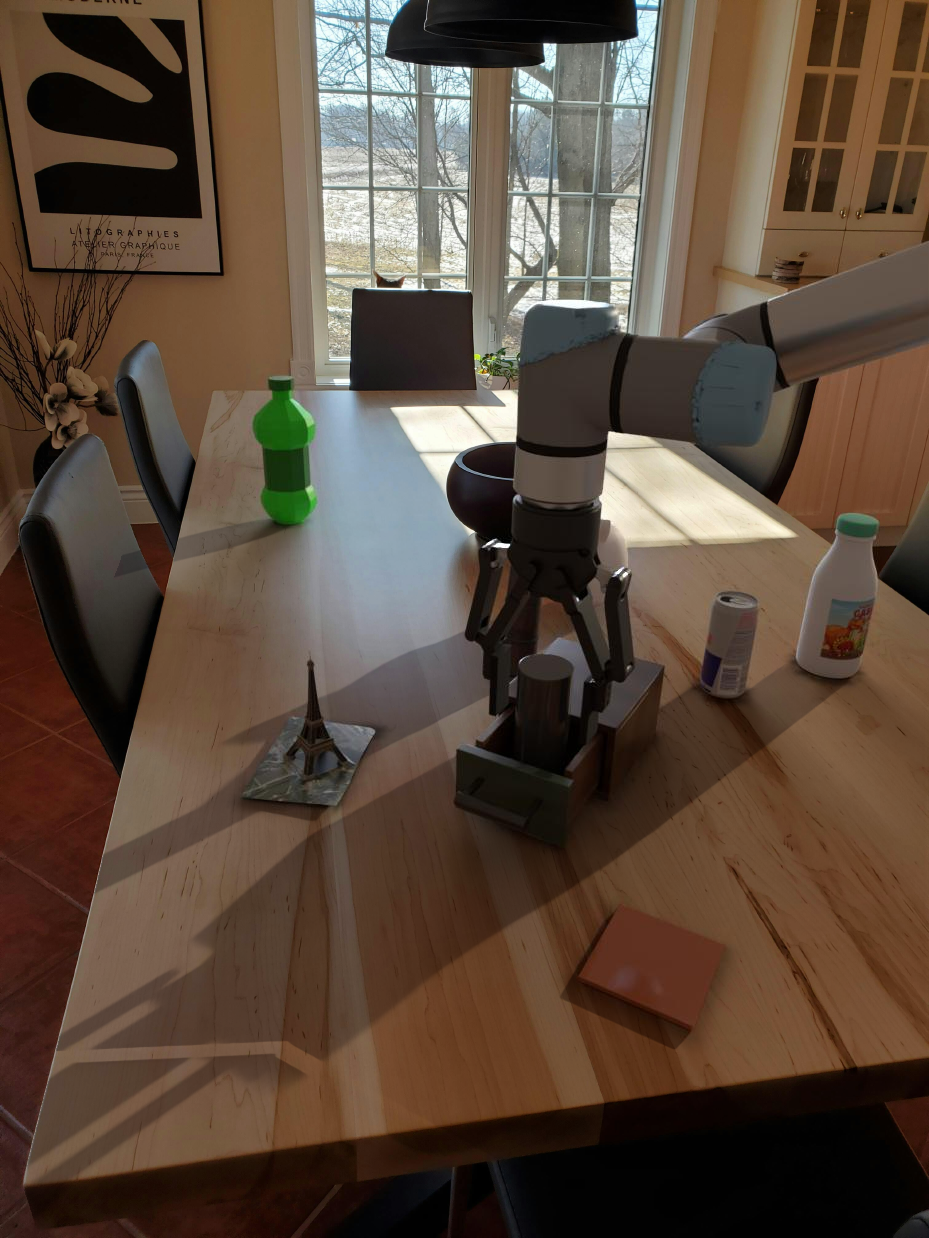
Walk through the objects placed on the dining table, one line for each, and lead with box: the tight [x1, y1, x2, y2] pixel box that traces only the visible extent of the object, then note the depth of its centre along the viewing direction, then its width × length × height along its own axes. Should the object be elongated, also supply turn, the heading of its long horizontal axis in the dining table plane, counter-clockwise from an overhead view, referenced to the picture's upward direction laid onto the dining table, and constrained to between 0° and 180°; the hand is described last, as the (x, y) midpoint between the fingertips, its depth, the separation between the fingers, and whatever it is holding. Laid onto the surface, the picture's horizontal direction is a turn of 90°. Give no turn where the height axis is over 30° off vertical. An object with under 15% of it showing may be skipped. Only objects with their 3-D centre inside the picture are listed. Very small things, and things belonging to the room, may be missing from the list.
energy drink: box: [699, 590, 761, 699], centre depth 107 cm, size 5×5×12 cm
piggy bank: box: [588, 496, 629, 607], centre depth 128 cm, size 12×12×15 cm
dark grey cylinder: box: [513, 653, 574, 777], centre depth 86 cm, size 5×5×13 cm
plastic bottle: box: [251, 375, 318, 525], centre depth 156 cm, size 10×10×25 cm
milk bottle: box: [795, 512, 880, 679], centre depth 111 cm, size 8×8×20 cm
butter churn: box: [501, 564, 543, 677], centre depth 107 cm, size 9×10×28 cm
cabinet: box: [497, 637, 666, 802], centre depth 96 cm, size 15×13×9 cm
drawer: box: [453, 704, 608, 849], centre depth 86 cm, size 18×11×7 cm, turn 150°
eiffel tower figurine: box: [239, 650, 376, 807], centre depth 92 cm, size 15×10×13 cm
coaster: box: [577, 903, 727, 1032], centre depth 71 cm, size 9×9×1 cm
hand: (542, 722), depth 86 cm, fingers open, 9 cm apart
